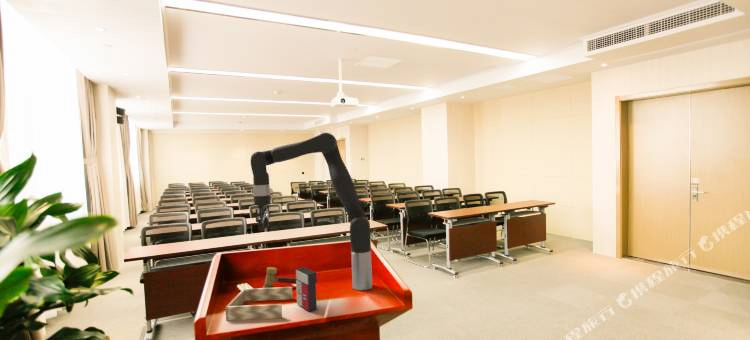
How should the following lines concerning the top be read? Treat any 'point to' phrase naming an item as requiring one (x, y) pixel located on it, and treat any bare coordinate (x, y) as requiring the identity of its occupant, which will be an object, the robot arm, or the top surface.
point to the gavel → (276, 278)
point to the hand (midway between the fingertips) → (263, 229)
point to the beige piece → (257, 311)
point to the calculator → (306, 288)
